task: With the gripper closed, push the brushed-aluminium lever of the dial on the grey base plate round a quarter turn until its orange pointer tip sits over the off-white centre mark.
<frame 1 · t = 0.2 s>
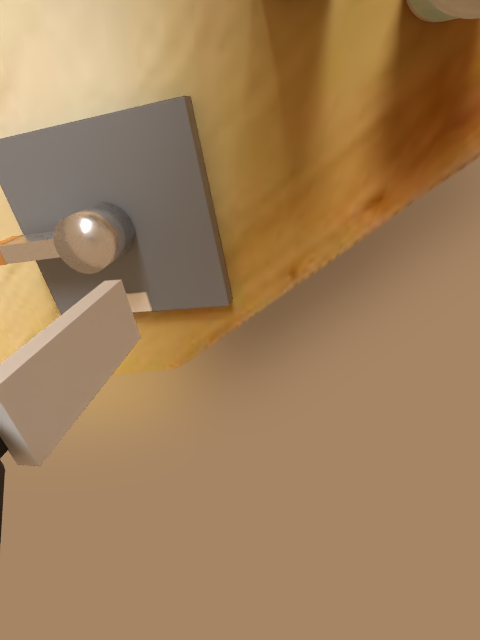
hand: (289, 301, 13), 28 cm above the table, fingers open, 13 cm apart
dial: (61, 241, 40), point 5 cm above the table, hinge at 0.0°
grey base plate: (119, 223, 43), on the table
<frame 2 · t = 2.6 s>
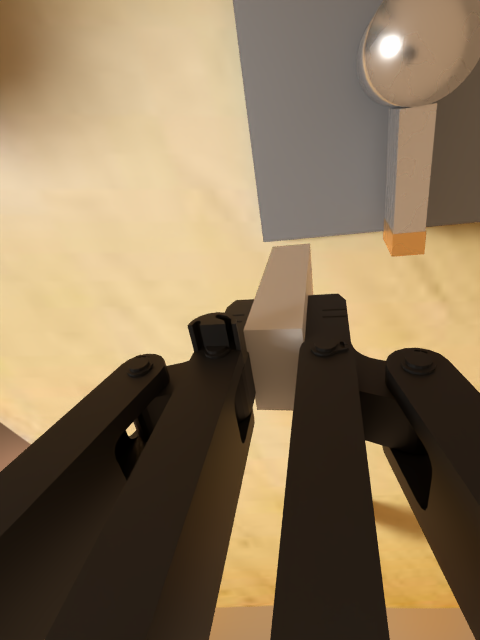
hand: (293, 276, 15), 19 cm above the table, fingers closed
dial: (407, 133, 24), point 5 cm above the table, hinge at 0.0°
grey base plate: (397, 58, 26), on the table
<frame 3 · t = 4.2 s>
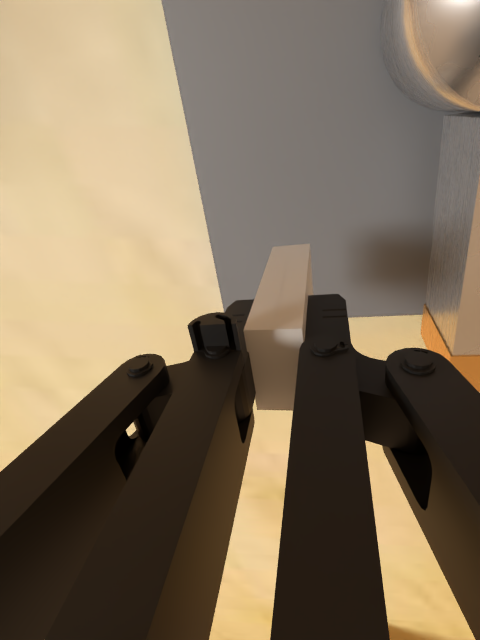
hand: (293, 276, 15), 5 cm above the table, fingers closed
grey base plate: (453, 22, 14), on the table
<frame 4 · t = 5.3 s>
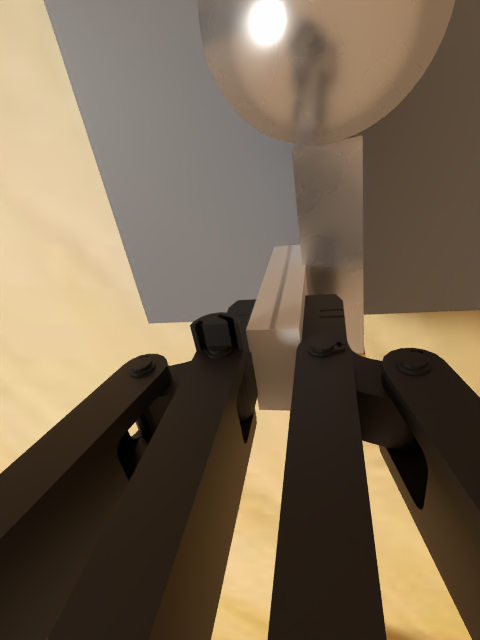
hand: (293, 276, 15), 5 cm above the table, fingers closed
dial: (328, 182, 13), point 5 cm above the table, hinge at 0.5°, touching gripper
grey base plate: (321, 49, 16), on the table
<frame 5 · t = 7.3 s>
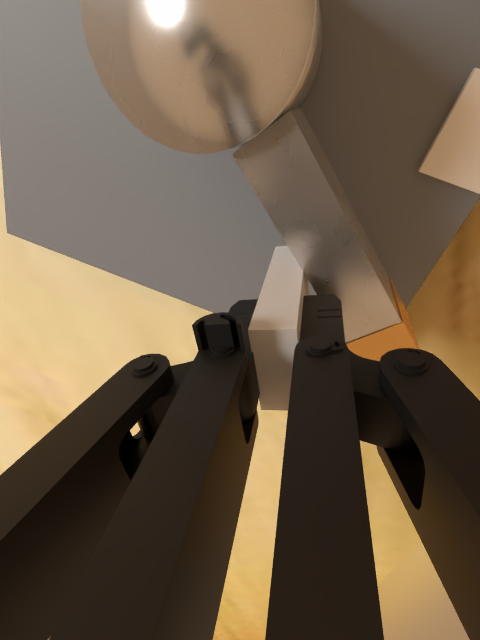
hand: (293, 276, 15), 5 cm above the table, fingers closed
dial: (295, 168, 13), point 5 cm above the table, hinge at 51.4°, touching gripper
grey base plate: (253, 55, 16), on the table
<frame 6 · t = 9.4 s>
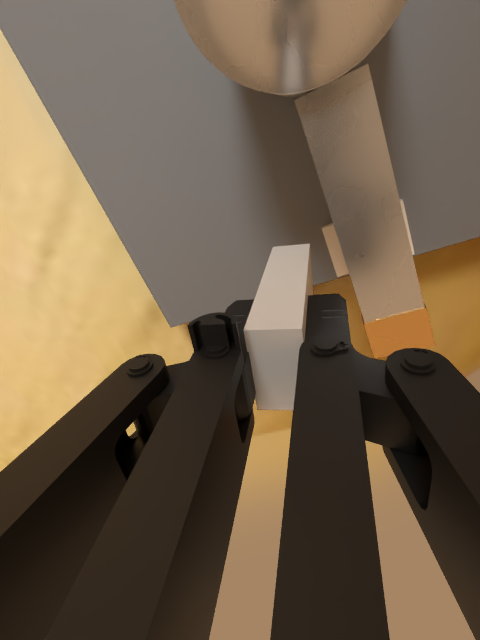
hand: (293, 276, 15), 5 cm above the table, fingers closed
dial: (342, 135, 12), point 5 cm above the table, hinge at 90.5°
grey base plate: (304, 13, 15), on the table
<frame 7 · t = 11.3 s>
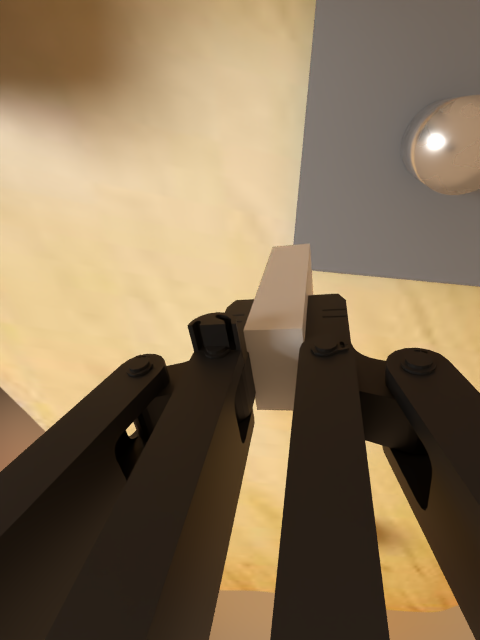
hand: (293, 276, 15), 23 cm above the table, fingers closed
grey base plate: (434, 140, 31), on the table
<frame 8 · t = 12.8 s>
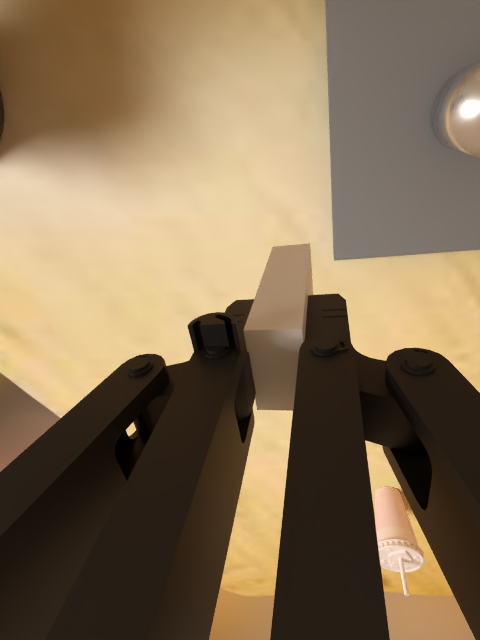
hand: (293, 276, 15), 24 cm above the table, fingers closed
smoothie: (387, 493, 57), on the table
grey base plate: (463, 108, 31), on the table
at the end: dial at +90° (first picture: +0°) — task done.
